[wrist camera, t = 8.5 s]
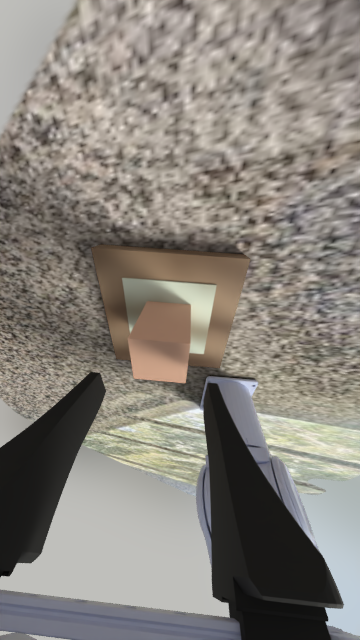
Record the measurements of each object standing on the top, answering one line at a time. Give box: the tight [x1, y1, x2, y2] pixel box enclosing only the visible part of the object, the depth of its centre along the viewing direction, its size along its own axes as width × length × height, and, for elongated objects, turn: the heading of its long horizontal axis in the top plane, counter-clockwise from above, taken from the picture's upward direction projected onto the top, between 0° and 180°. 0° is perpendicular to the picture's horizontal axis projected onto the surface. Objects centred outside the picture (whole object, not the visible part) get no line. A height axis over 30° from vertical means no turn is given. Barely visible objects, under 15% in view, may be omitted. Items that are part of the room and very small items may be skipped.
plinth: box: [91, 244, 250, 368], centre depth 19 cm, size 14×14×2 cm
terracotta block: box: [128, 301, 191, 383], centre depth 15 cm, size 4×4×6 cm
